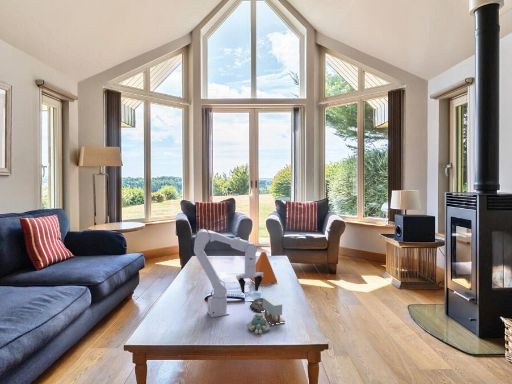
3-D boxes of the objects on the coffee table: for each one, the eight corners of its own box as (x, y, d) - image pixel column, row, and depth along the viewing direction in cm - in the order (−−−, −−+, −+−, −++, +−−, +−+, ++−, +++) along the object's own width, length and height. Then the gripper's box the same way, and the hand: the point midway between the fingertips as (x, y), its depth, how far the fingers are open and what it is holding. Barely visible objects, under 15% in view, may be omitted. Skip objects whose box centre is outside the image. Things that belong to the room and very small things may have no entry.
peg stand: (272, 325, 155) (272, 317, 155) (260, 315, 167) (260, 307, 166) (284, 323, 158) (285, 314, 158) (272, 313, 170) (272, 305, 169)
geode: (276, 300, 188) (250, 300, 188) (276, 294, 188) (250, 293, 188) (278, 314, 170) (249, 313, 170) (278, 306, 169) (249, 306, 169)
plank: (273, 316, 156) (274, 305, 156) (262, 307, 167) (262, 297, 167) (282, 314, 158) (282, 304, 158) (270, 305, 169) (270, 296, 168)
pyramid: (248, 278, 229) (249, 249, 228) (270, 276, 234) (270, 248, 233) (255, 285, 214) (256, 255, 213) (278, 283, 219) (278, 253, 218)
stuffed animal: (246, 324, 144) (248, 308, 156) (246, 338, 146) (248, 321, 157) (270, 324, 144) (270, 309, 155) (270, 339, 145) (270, 322, 157)
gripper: (240, 269, 164) (239, 296, 164) (266, 266, 170) (265, 292, 170) (234, 265, 170) (234, 291, 171) (260, 263, 176) (259, 288, 177)
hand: (249, 291), depth 171 cm, fingers open, 7 cm apart
